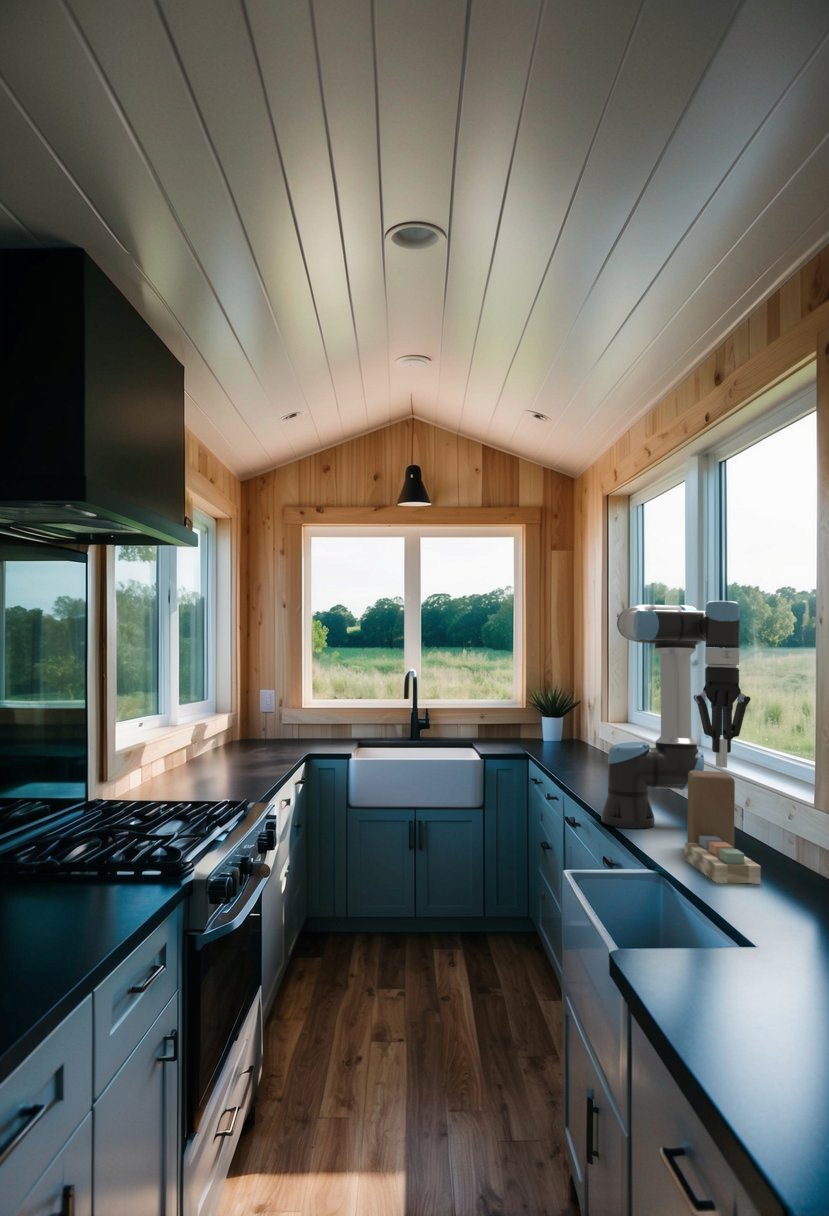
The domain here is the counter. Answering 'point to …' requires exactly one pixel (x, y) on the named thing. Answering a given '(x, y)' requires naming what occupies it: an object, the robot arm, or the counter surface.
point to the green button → (731, 856)
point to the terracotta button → (718, 847)
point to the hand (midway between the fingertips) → (721, 766)
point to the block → (711, 806)
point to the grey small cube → (707, 841)
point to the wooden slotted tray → (722, 866)
